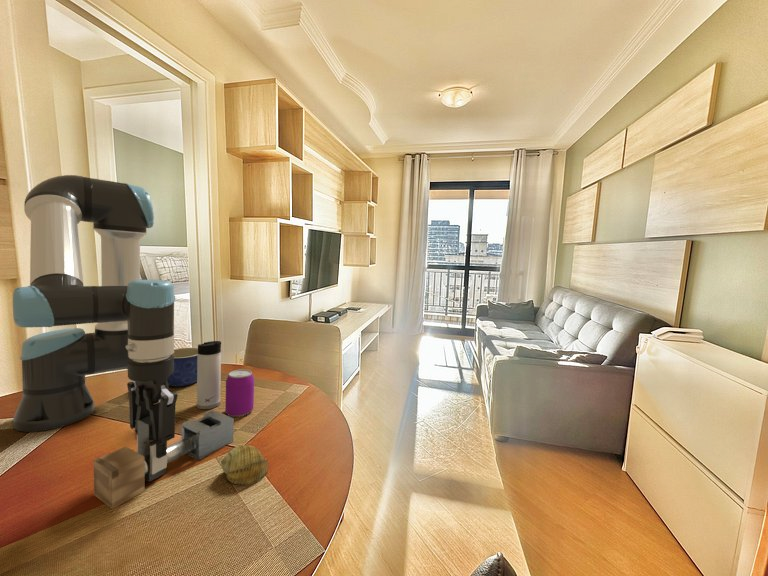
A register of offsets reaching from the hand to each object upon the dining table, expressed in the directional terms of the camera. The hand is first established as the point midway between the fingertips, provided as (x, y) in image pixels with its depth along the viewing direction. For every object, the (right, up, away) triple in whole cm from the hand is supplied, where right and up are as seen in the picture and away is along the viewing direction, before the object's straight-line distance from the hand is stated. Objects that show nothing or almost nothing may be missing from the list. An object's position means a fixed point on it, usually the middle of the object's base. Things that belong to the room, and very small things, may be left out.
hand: (151, 466), depth 66 cm
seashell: (+18, -3, +3) cm, 19 cm away
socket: (-3, -2, -5) cm, 6 cm away
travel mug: (-6, +1, +32) cm, 32 cm away
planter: (-24, +3, +47) cm, 53 cm away
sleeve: (+5, -1, +11) cm, 13 cm away
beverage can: (+5, 0, +29) cm, 29 cm away
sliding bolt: (0, -2, +1) cm, 2 cm away
